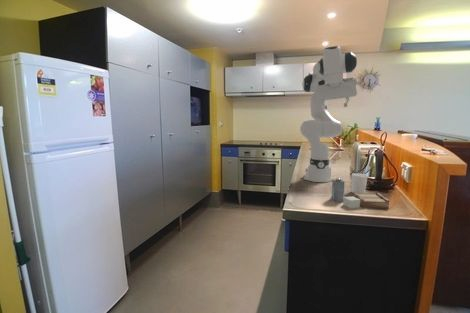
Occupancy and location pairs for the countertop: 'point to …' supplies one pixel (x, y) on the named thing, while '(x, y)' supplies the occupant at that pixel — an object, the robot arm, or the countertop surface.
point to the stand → (372, 200)
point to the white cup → (358, 183)
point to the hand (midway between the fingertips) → (335, 108)
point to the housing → (338, 190)
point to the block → (351, 202)
